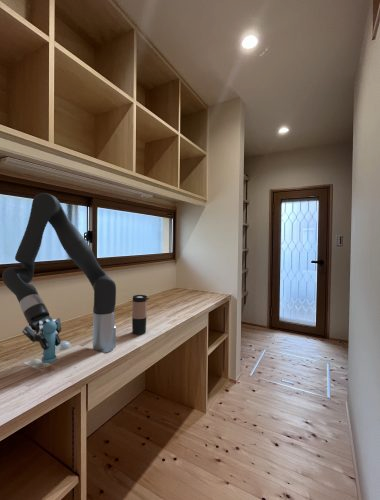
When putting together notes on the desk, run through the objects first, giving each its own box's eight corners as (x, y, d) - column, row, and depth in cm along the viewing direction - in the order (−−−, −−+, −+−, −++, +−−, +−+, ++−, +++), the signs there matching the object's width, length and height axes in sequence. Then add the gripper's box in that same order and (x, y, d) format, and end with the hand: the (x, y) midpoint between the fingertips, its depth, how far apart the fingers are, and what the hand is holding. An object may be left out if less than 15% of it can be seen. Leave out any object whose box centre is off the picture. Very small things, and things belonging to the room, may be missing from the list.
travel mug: (129, 331, 139) (130, 295, 138) (142, 329, 143) (143, 294, 143) (135, 336, 133) (135, 298, 132) (148, 333, 137) (149, 296, 136)
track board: (37, 360, 104) (37, 357, 104) (63, 370, 96) (63, 367, 96) (20, 367, 98) (20, 363, 98) (45, 379, 90) (46, 375, 90)
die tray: (64, 349, 118) (64, 336, 118) (75, 353, 115) (75, 340, 114) (43, 357, 110) (43, 344, 109) (54, 362, 106) (54, 348, 106)
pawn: (51, 356, 97) (52, 318, 97) (59, 359, 95) (60, 320, 95) (38, 360, 93) (39, 321, 93) (46, 364, 91) (47, 324, 90)
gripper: (18, 306, 91) (38, 347, 85) (55, 299, 103) (74, 335, 98) (10, 318, 93) (28, 359, 88) (47, 310, 106) (65, 345, 101)
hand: (52, 346), depth 93 cm, fingers closed on pawn, 3 cm apart
